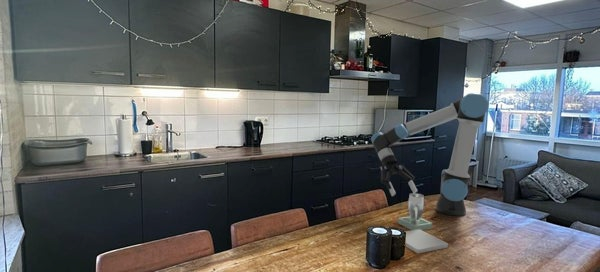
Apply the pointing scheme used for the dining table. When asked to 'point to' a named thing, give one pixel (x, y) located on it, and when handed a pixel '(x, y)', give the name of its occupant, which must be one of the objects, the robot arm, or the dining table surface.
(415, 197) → the beer glass
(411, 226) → the green square frame
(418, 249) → the tile board
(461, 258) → the dining table surface
